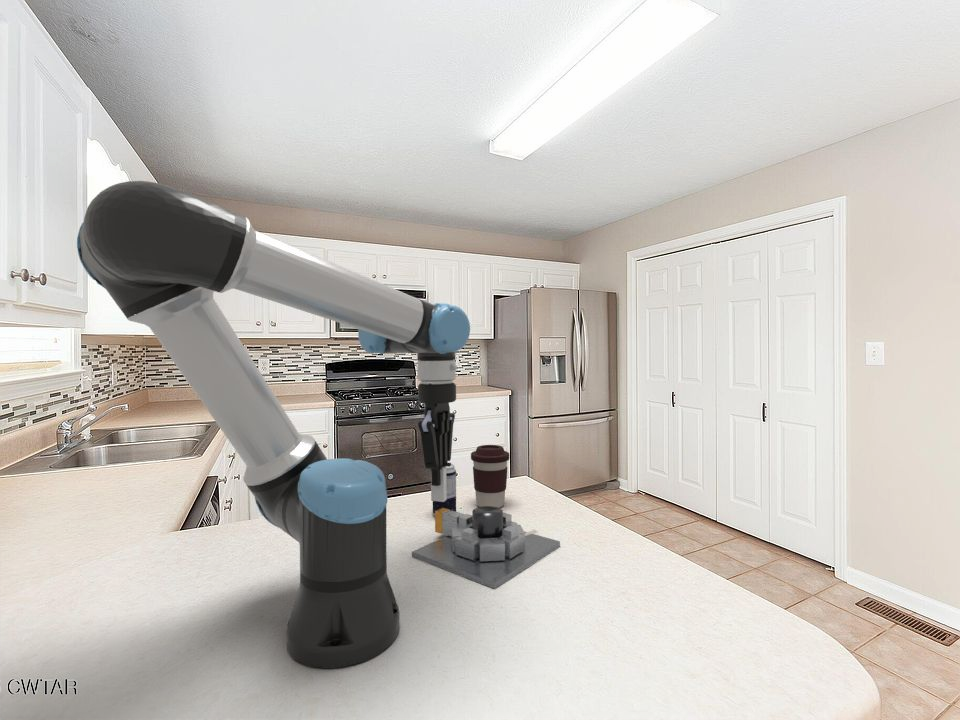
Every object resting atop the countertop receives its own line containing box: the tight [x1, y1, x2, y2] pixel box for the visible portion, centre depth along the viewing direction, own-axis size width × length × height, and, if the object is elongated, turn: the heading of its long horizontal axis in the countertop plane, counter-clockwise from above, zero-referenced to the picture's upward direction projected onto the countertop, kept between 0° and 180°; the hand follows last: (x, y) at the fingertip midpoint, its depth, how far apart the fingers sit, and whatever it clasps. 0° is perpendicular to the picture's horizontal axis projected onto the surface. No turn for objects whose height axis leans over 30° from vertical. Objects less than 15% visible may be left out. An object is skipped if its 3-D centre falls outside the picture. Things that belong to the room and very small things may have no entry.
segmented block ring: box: [434, 508, 526, 562], centre depth 95 cm, size 14×20×5 cm
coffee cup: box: [470, 444, 510, 509], centre depth 122 cm, size 10×10×15 cm
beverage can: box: [432, 463, 457, 515], centre depth 114 cm, size 6×6×12 cm
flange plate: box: [411, 506, 561, 590], centre depth 95 cm, size 24×23×8 cm
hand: (439, 500), depth 94 cm, fingers closed
